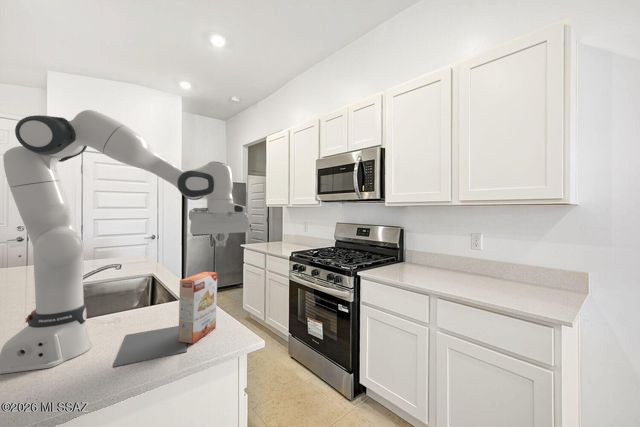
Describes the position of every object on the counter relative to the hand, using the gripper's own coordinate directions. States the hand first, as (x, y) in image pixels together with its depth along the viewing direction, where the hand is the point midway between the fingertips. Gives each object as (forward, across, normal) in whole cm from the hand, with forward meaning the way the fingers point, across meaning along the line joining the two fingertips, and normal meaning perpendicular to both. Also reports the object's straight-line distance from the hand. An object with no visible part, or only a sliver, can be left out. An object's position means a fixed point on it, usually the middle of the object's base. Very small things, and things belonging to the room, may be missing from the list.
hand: (220, 245), depth 104 cm
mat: (+31, -21, 0) cm, 38 cm away
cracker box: (+31, -8, 0) cm, 32 cm away
